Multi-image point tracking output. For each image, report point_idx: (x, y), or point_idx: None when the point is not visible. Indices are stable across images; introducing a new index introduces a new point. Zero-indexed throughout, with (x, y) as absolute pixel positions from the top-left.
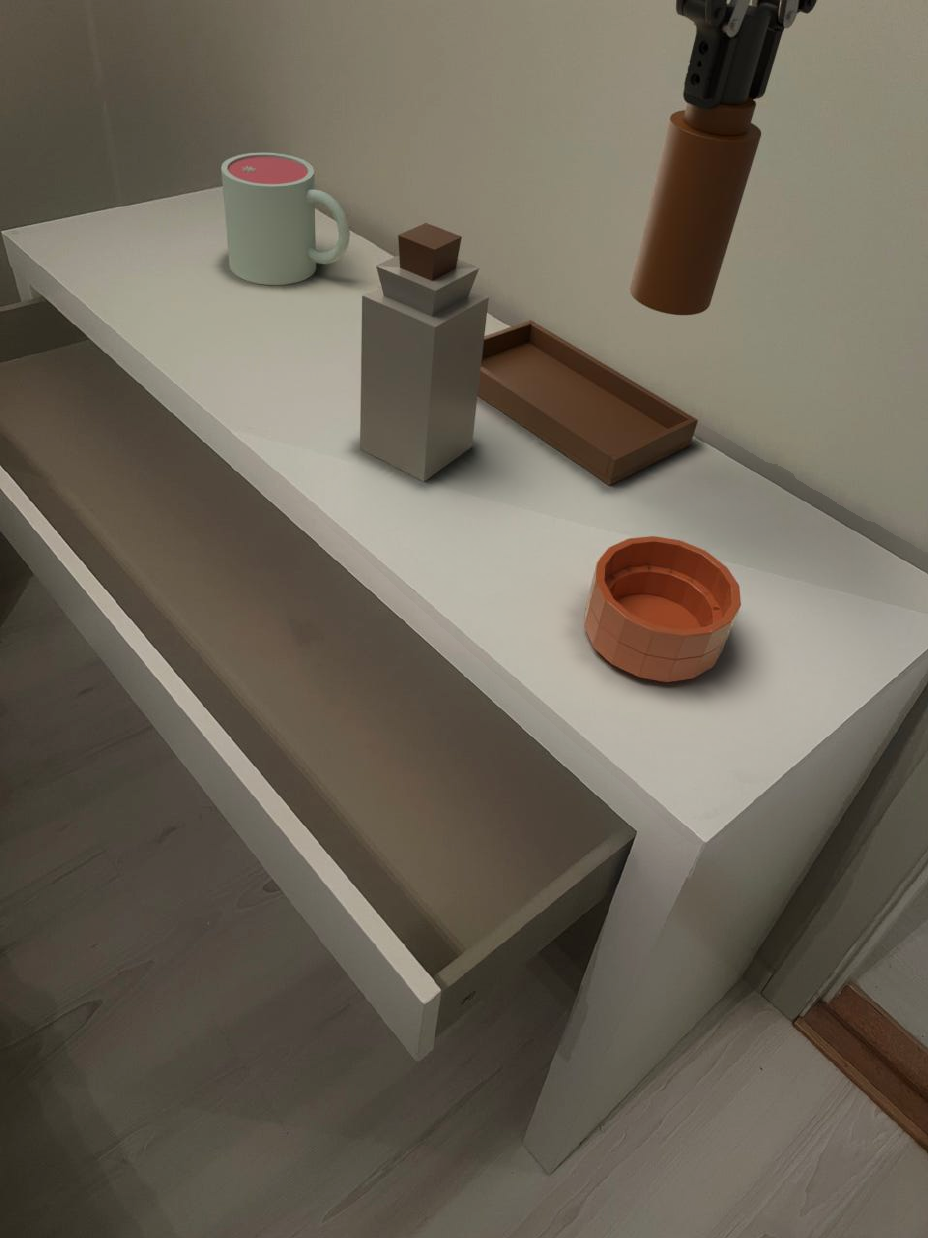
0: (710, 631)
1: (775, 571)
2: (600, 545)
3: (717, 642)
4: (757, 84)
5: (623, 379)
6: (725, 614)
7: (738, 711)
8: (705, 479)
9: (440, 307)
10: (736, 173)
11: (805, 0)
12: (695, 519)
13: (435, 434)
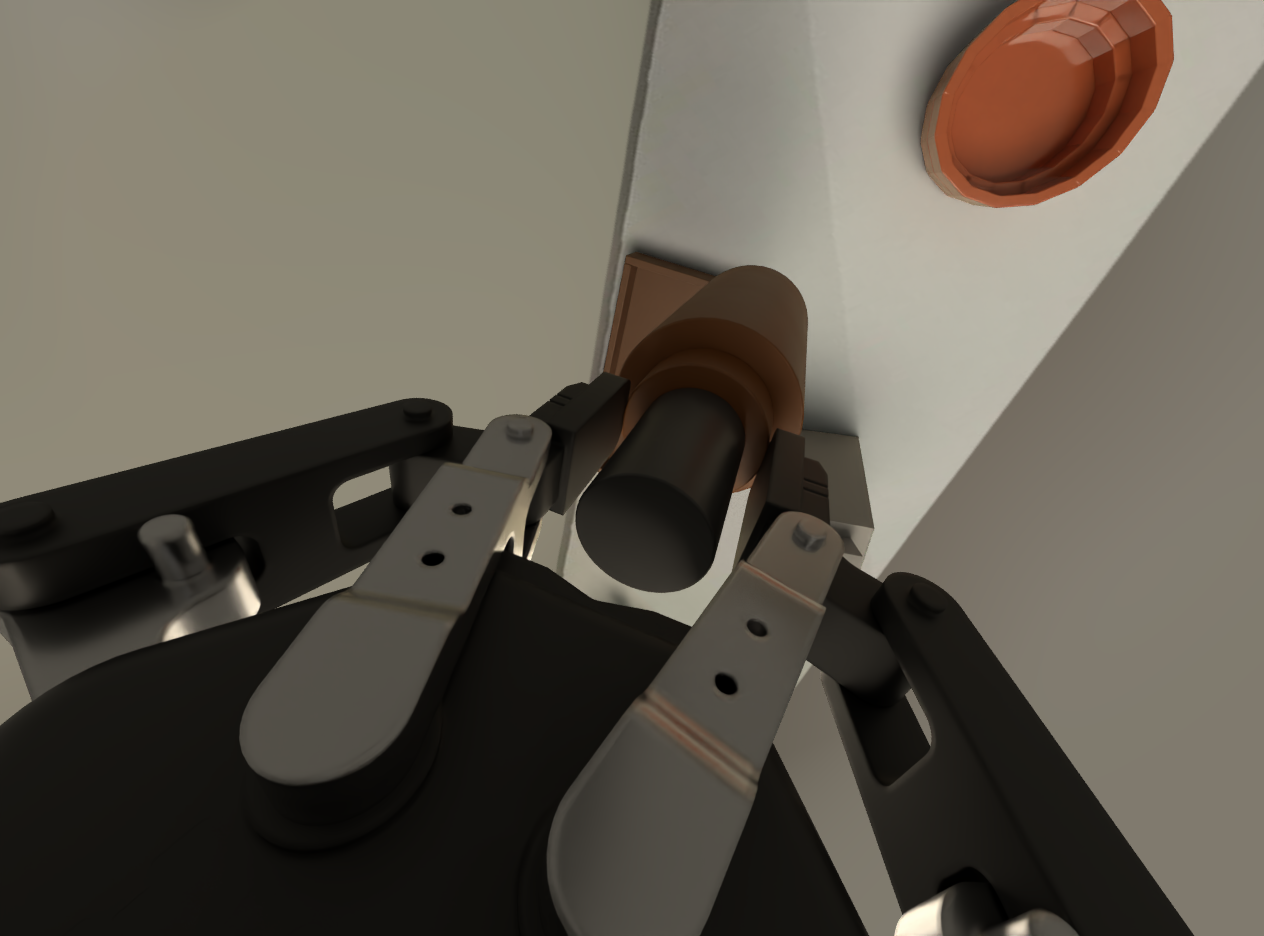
0: None
1: (804, 39)
2: (867, 248)
3: None
4: (621, 394)
5: (613, 354)
6: None
7: None
8: (683, 207)
9: None
10: (762, 316)
11: (441, 426)
12: (761, 180)
13: (847, 456)
